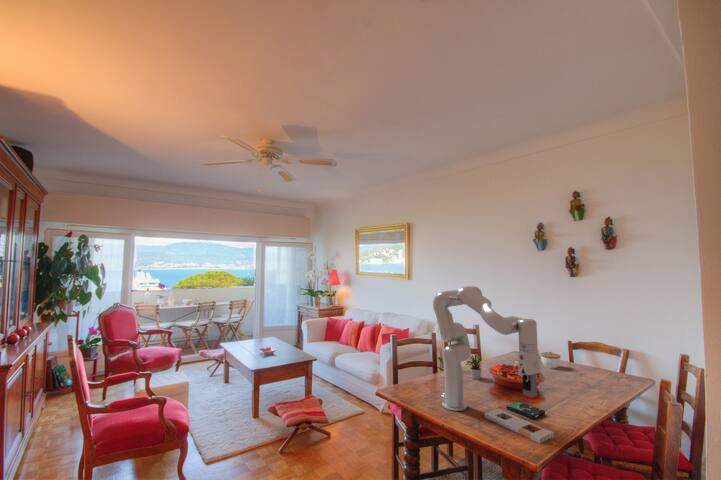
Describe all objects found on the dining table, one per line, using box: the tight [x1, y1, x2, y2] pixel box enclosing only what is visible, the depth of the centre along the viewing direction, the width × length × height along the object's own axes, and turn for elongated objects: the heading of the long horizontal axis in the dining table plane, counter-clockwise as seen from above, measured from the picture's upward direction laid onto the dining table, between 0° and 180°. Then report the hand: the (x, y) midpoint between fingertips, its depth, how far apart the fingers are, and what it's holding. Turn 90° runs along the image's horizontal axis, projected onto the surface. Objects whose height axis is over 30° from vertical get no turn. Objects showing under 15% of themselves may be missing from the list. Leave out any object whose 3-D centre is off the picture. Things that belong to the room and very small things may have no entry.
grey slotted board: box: [484, 408, 555, 444], centre depth 156 cm, size 28×10×2 cm, turn 30°
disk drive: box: [505, 400, 546, 421], centre depth 172 cm, size 10×3×15 cm
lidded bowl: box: [540, 351, 561, 370], centre depth 248 cm, size 13×13×11 cm
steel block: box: [522, 372, 538, 398], centre depth 152 cm, size 4×4×10 cm
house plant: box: [465, 352, 484, 380], centre depth 226 cm, size 14×14×16 cm
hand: (529, 388), depth 152 cm, fingers closed on steel block, 4 cm apart
